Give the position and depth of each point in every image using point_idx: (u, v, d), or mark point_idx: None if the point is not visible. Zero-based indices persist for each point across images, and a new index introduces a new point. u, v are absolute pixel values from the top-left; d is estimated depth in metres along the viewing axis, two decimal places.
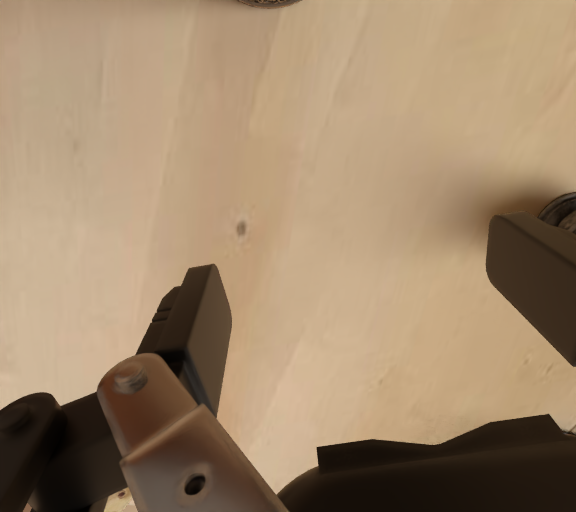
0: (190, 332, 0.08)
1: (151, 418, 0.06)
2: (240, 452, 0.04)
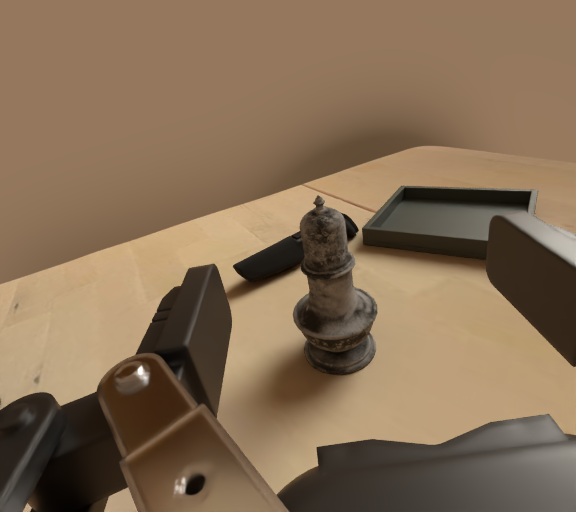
0: (190, 332, 0.08)
1: (151, 418, 0.06)
2: (240, 452, 0.04)
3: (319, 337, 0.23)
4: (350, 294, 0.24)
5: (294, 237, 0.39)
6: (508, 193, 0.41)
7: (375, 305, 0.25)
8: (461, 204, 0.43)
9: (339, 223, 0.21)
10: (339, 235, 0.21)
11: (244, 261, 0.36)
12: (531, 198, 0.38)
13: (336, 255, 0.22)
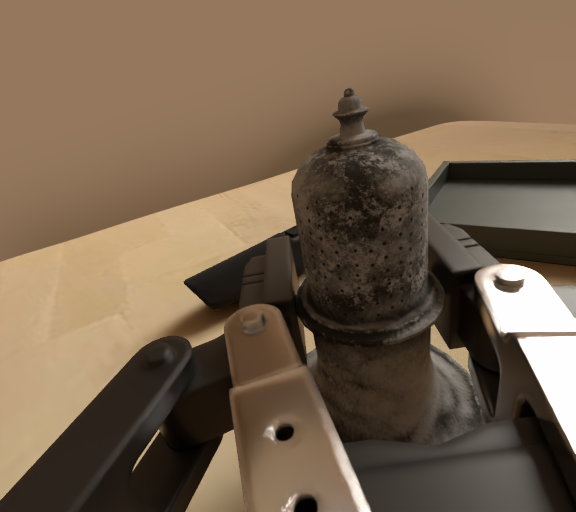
0: (291, 288, 0.08)
1: (261, 362, 0.06)
2: (330, 420, 0.04)
3: None
4: (427, 377, 0.09)
5: (288, 234, 0.24)
6: None
7: None
8: (542, 184, 0.29)
9: (417, 175, 0.07)
10: (416, 214, 0.07)
11: (203, 274, 0.21)
12: None
13: (401, 276, 0.07)
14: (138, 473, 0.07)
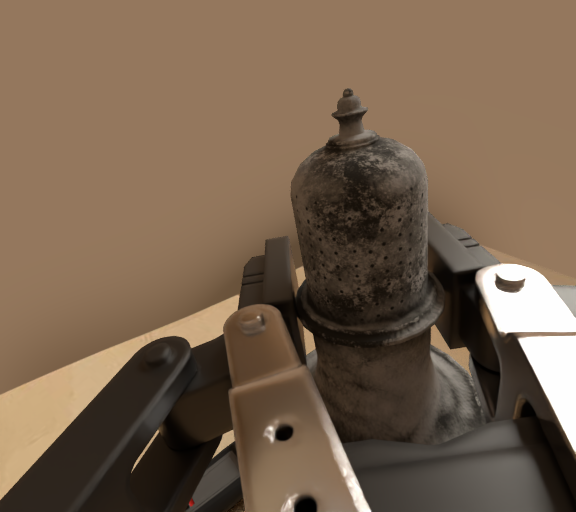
0: (291, 289, 0.08)
1: (261, 362, 0.06)
2: (329, 420, 0.04)
3: None
4: (427, 378, 0.09)
5: None
6: None
7: None
8: None
9: (416, 176, 0.07)
10: (416, 215, 0.07)
11: None
12: None
13: (401, 277, 0.07)
14: (137, 473, 0.07)
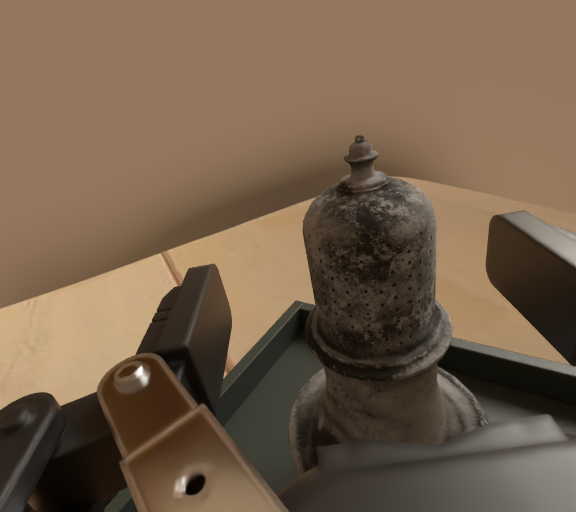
0: (190, 332, 0.08)
1: (151, 418, 0.06)
2: (240, 452, 0.04)
3: None
4: (433, 405, 0.09)
5: None
6: (564, 381, 0.14)
7: (484, 417, 0.10)
8: None
9: (426, 219, 0.07)
10: (425, 256, 0.07)
11: None
12: None
13: (410, 315, 0.07)
14: None
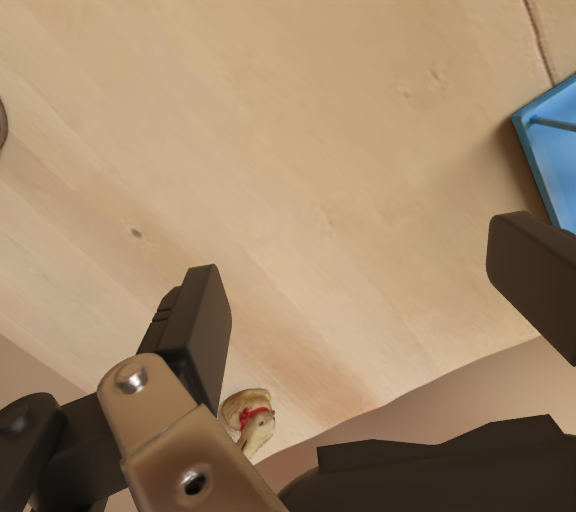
0: (190, 332, 0.08)
1: (151, 418, 0.06)
2: (240, 452, 0.04)
3: None
4: None
5: None
6: None
7: None
8: None
9: None
10: None
11: None
12: None
13: None
14: None
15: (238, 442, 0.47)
